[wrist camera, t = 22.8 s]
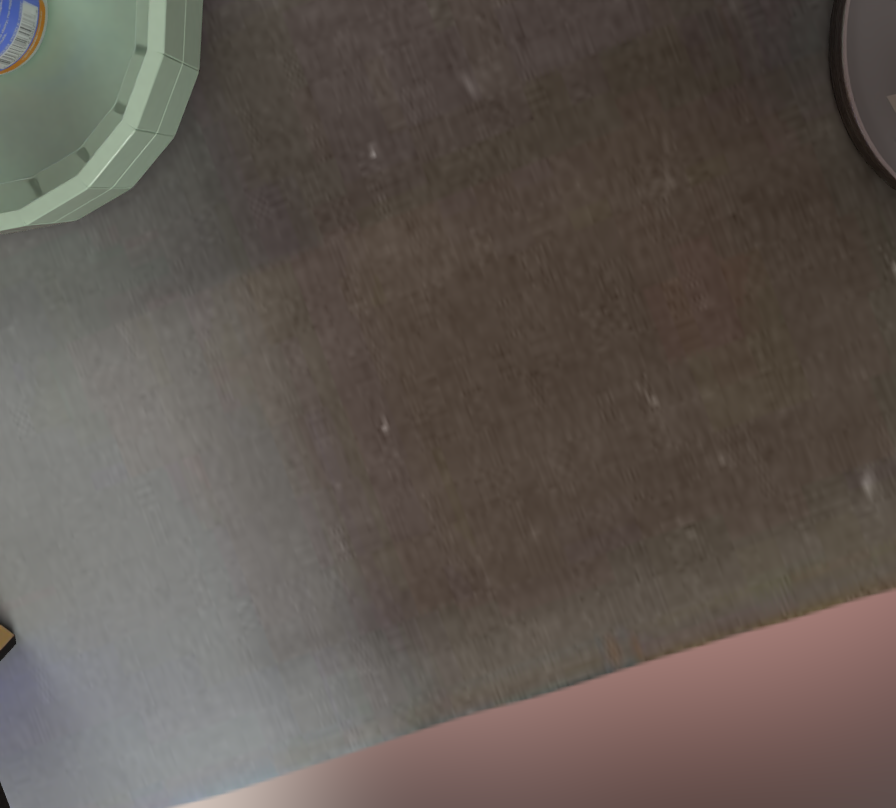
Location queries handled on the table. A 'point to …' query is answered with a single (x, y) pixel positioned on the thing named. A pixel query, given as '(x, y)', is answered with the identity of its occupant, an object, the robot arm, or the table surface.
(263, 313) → the table surface
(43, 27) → the pill bottle
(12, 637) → the puzzle cube
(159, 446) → the table surface
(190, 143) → the table surface
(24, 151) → the bowl
